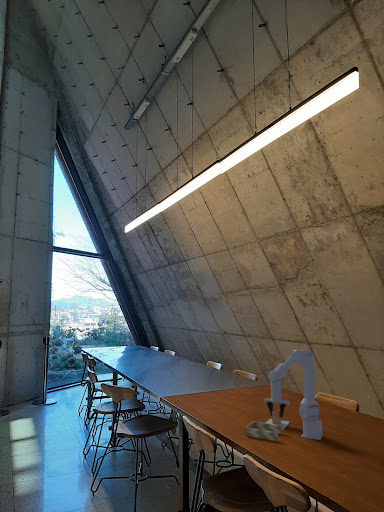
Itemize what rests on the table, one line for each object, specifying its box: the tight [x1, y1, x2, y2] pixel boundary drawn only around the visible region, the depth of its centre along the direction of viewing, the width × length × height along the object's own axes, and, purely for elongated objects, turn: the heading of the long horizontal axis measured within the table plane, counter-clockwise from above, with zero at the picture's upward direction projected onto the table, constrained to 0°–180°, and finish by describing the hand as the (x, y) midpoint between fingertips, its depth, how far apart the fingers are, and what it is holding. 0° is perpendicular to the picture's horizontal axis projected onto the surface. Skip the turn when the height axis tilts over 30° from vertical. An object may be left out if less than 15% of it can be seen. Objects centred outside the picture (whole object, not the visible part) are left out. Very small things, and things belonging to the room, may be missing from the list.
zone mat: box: [265, 418, 291, 429], centre depth 207 cm, size 12×12×1 cm
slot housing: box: [244, 421, 285, 442], centre depth 188 cm, size 17×13×4 cm
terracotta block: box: [271, 408, 282, 425], centre depth 207 cm, size 4×4×7 cm
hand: (276, 416), depth 208 cm, fingers open, 5 cm apart
